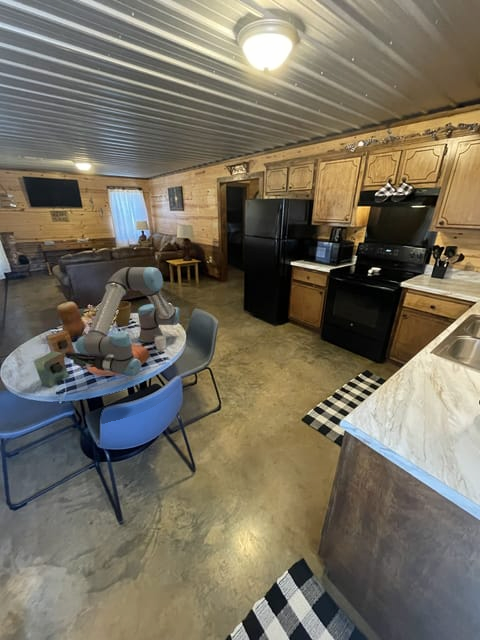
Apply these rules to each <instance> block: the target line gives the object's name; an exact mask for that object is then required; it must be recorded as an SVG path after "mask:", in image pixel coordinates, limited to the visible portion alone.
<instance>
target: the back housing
mask: <svg viewBox="0 0 480 640" xmlns="http://www.w3.org/2000/svg"><path fill="white" fill-rule="evenodd" d="M45 339H46V342H47V345H48V348H49V351H50V352H52V351H54V352H59V353H62V356H63V358H65V357H66V354H65V353H66V352H73V353H76V352H75V349H74V345H73V342H72V341H73V340H72V338H71V337H70V334H69V332H67V331H65V330H62V329H61V330H59V331H56V332H53V333H50V334H48V335H45ZM60 341H65V342H67V343H68V347H67V348H65V349H63V348H61V347H59V346H58V344H59V342H60ZM66 358H67V357H66Z"/></svg>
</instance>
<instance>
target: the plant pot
mask: <svg viewBox="0 0 480 640" xmlns="http://www.w3.org/2000/svg"><path fill="white" fill-rule="evenodd" d="M117 310H119V315H118V317H117V320H116V321H115V322H116V324H117V325H118V327H126V326H128V325H130V321H131V313H132V304H131V302H129V301H120V304H119V306H118V309H117Z"/></svg>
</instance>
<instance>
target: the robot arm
mask: <svg viewBox="0 0 480 640" xmlns="http://www.w3.org/2000/svg"><path fill="white" fill-rule="evenodd" d="M163 286H164V278H163V274H162V272H161V271H160V270H159V268H156V267H151V266H148V267H145V266H144V267H143V266H142V267H141V266H140V267H139V266H138V267H133V266H132V267H130V266H127V267H123V268H121V269H119V270H117V271H116V272H115V273H113V275H112V276H111V277H110V278H109V279H108V280H107V282H106V284H105V292H104V295H103V297H102V299H101V301H100V303H99V307H98V309H97V311H96V313H95V316H94V318H93V320H92V323H91V325H90V327H89V329H88V331H87V333H86V335H84V336H82V335H81V336H80V337H78V338H77V340H76V342H75V349H76V351H77V352H75V353H73V352H66V353H65V354H66V359H70V360H72V361H73V364H74V365H76V366H78V367H79V368H82V370H87V368H89V367H90V368H95V369H97V370H99V371H104V372H110V373H114V374H118V375H123V376H128V377H135V376H137V375H138V374H140V372H141V369H142V362H141V361H140V359H138V358H135V356H134V352H133V351H134V350H133V346H132V340H131V336H130V334H129V332H127V331H123V330H121V331H115V332H113V333H111V334H110V336H108V335H109V331H110V330H111V327H112V324H113V321H114V320H115V319H114V317H115V314H116V311H117V309H118V306H119V304H120V302H122V298H123V297H124V296H126V294H127V292H128V291H139V292H140V293H141V295H143V296H144V297H147V298H148V300H149V301H150V303H149V304H148V303H147V304H144V305H142V306H140V307H138V309H137V316H138V319H139V320H138V321H139V327H140V331H139V337H138V338H139V342H141V343H144V344H152V343H155V340H154V338H155V337H157V336H164V335H163V332H162V329H161V328H160V326H177V325H178V324H179V322H180V317H181V316H180V313H181V311H180V308H179V307H175V306H174V305H173V304H172V303H170V302H169V301H168V299H167V297H166V295H165V293H164V291H163V290H162V289H163Z"/></svg>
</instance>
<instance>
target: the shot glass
mask: <svg viewBox="0 0 480 640" xmlns="http://www.w3.org/2000/svg"><path fill="white" fill-rule="evenodd" d="M154 340H155V342H154V344H155V348H156V350H158V351H162V350H165V349H166V343H167V341H166V336H165V335H163V336H157V337H155V338H154Z"/></svg>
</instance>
